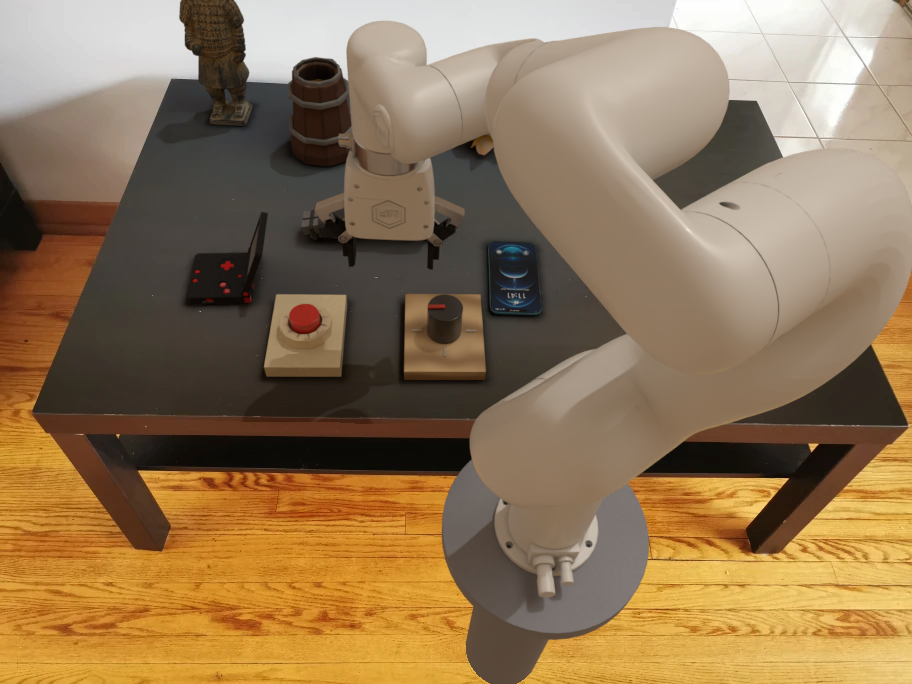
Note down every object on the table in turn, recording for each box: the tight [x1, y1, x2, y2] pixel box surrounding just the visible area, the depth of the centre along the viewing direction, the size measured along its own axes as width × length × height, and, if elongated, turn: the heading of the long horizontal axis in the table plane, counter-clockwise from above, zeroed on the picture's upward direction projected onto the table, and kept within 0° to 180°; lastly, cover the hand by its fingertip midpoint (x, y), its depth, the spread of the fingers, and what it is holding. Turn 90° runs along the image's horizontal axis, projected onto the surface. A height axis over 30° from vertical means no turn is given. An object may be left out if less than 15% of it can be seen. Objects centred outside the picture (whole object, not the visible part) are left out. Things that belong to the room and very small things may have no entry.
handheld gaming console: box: [185, 211, 269, 305], centre depth 101 cm, size 9×12×10 cm
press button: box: [289, 304, 320, 334], centre depth 96 cm, size 4×4×2 cm
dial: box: [427, 293, 463, 344], centre depth 97 cm, size 5×5×5 cm
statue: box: [178, 0, 253, 127], centre depth 119 cm, size 10×8×30 cm
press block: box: [263, 293, 348, 378], centre depth 98 cm, size 13×10×4 cm
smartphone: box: [487, 240, 542, 316], centre depth 108 cm, size 8×1×15 cm
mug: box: [287, 56, 352, 168], centre depth 122 cm, size 16×12×15 cm
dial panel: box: [403, 293, 487, 381], centre depth 99 cm, size 14×11×2 cm
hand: (391, 259), depth 88 cm, fingers open, 9 cm apart
